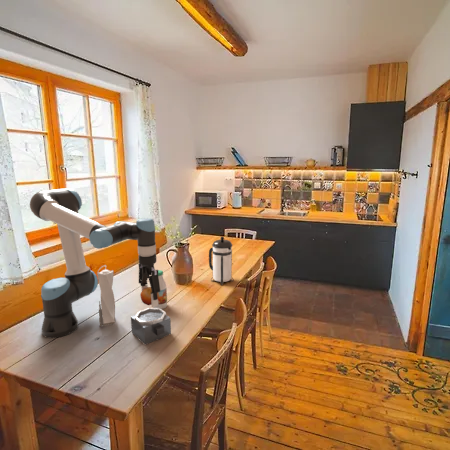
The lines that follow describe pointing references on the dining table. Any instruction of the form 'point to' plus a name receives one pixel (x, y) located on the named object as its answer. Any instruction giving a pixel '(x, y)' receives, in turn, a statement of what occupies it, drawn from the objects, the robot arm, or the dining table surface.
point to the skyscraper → (106, 297)
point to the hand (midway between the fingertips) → (149, 302)
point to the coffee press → (221, 260)
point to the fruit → (147, 296)
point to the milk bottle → (162, 292)
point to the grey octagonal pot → (150, 324)
